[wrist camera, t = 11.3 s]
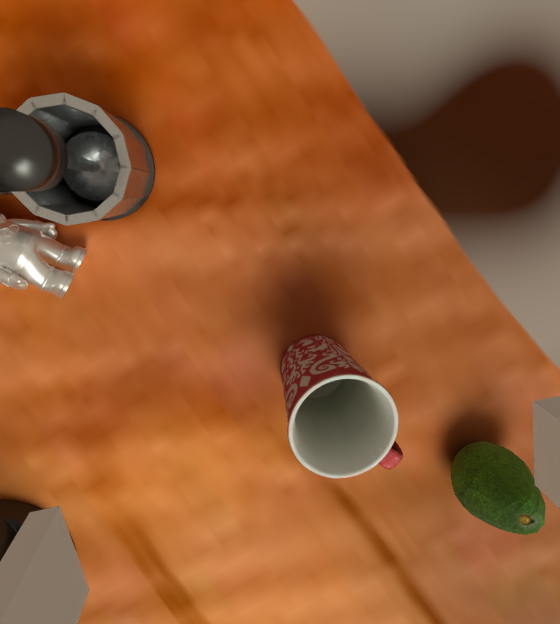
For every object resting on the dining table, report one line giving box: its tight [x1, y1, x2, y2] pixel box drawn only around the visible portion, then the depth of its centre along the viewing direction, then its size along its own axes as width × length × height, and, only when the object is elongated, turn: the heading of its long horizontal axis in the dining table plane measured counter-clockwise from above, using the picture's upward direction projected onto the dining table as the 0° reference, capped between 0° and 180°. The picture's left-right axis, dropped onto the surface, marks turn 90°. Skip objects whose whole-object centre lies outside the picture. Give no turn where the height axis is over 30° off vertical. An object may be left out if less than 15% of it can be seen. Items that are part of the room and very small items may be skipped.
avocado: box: [451, 441, 545, 535], centre depth 49 cm, size 8×8×12 cm
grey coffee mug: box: [0, 92, 155, 226], centre depth 37 cm, size 11×9×10 cm
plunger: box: [0, 108, 121, 201], centre depth 32 cm, size 6×6×17 cm
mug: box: [281, 335, 403, 479], centre depth 43 cm, size 13×9×14 cm
